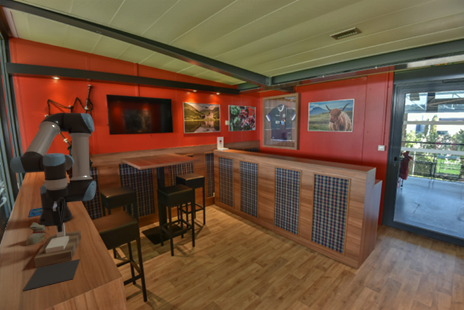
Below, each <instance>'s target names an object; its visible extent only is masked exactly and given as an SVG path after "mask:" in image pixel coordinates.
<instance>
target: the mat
mask: <svg viewBox="0 0 464 310" xmlns="http://www.w3.org/2000/svg"><path fill="white" fill-rule="evenodd" d="M80 260H81V259H80V258H78V259H74V260H73V259H72V260H70V261H65V262H60V263H56V264H51V265H46V266H41V267H37V268H35V271H34V273H33V274H32V275H31V277H30V279H29V280H28V282H27V284H26V285H25V287H24V289H23V290H22V291H23V292H27V291H29V290H34V289H39V288H42V287H47V286H50V285H54V284H55V285H56V284H60V283H64V282H67V281H71V280H74V278H75V274H76V273H77V269H78V266H79V264H80V262H81V261H80Z"/></svg>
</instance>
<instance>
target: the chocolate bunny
mask: <svg viewBox="0 0 464 310" xmlns="http://www.w3.org/2000/svg"><path fill="white" fill-rule="evenodd" d="M28 229H30V230H32V234H30V235H29V236H28V237H27V238H26V241H25V246H26V247H28V246H33V245H36V244H38V243H41V242H42V241H44V240H45V239H46V238H45V234H46V226H44V225H40V224H39V223H38V222H31V225H30V226H29V227H28Z"/></svg>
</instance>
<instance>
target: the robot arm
mask: <svg viewBox="0 0 464 310" xmlns="http://www.w3.org/2000/svg"><path fill="white" fill-rule="evenodd" d="M94 132H95V123H94V120H93V117H92V116H91V114H89V113H86V112H57V113H53V114H51V115H48V116H47V117H45V118H44V119H43V120H42V121H40V123H39V125H38V131H37V132H36V134H35V135H34V136H33V139H32V140H31V141H30V144H29V145H28V147H27V148H26V150H25V151H24V153H23V155H22V156H19V155H18V156H14V157H12V158H10V159H11V160H10V163H9V164H10V165H9V167H10V169H11V171H12V172H13V173H14V174H15V173H16V174H29V173H31V174H32V173H44V175H43V176H44V181H43V184H42V185H41V186H40V188H39V189H40V190H39V191H40V192H39V194H40V202H41V207H42V213H41V215H39V218H38V220H39V221H38V224H39V225H44V226H45V227H47V226H48V227H50V226H54V227H55V229H56V234H57V238H58V237H64V236H65V233H66V227H65V223H67V222H69V221H70V220H71V219H72V218H73V214H72V211H71V210H70V208H69V206H68V203H75V202H76V203H77V202H87V201H92V200H93V199H94V198H95V194H96V192H97V191H96V190H97V182H96V180H94V179H93V177H92V176H91V175H90V173H91V172H90V143H89V142H90V141H89V138H90V137H91V136H92V133H94ZM60 133H68V136H70V138H71V155H70V154H64V153H62V152H54V153H53V152H52V153H48V151H49V149H50V148H51V145H52V143H53V141H54V140H55V138H56V136H58V135H59V134H60ZM71 169H72V177H70V179H69V182H68V178H67V171H68V170H71Z"/></svg>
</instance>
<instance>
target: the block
mask: <svg viewBox="0 0 464 310" xmlns="http://www.w3.org/2000/svg"><path fill="white" fill-rule="evenodd" d="M68 241H69V236H64V237H58V238H52V240H51V241H50V243H49V244H48V246H47V247H46V249H45V250H46V253H50V252H55V251H61V250H64V249H65V247H66V245H67V243H68Z"/></svg>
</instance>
